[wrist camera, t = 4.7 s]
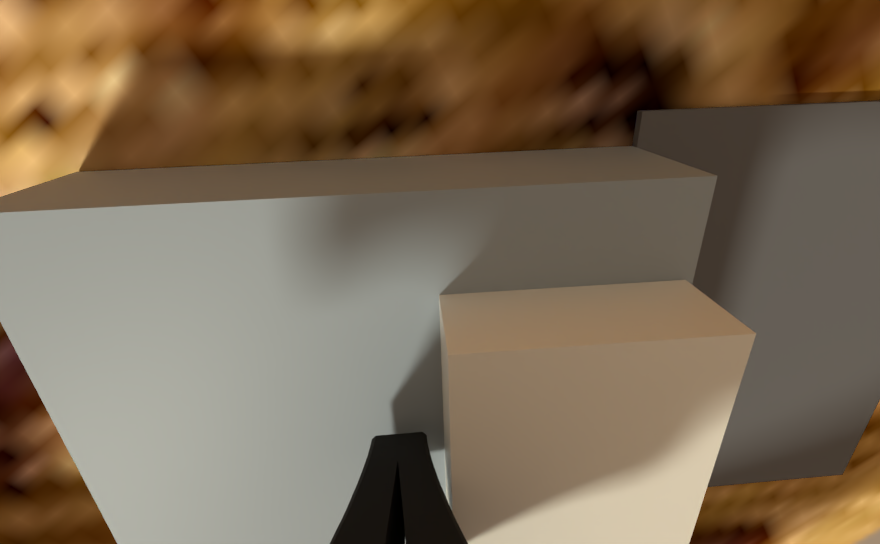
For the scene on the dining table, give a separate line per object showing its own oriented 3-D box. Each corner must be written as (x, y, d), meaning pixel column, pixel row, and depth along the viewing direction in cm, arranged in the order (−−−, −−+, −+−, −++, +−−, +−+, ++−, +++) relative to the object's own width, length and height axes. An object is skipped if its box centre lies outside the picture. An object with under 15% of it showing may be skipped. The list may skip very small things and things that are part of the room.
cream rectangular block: (629, 525, 15) (669, 606, 12) (448, 542, 14) (455, 628, 12) (685, 279, 11) (756, 333, 9) (439, 294, 10) (448, 355, 8)
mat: (836, 469, 20) (842, 474, 20) (580, 492, 20) (583, 498, 19) (1018, 94, 14) (1030, 95, 13) (637, 110, 13) (642, 111, 13)
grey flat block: (583, 476, 19) (625, 571, 16) (205, 510, 18) (156, 619, 15) (631, 145, 13) (717, 175, 10) (77, 171, 12) (-56, 215, 9)
